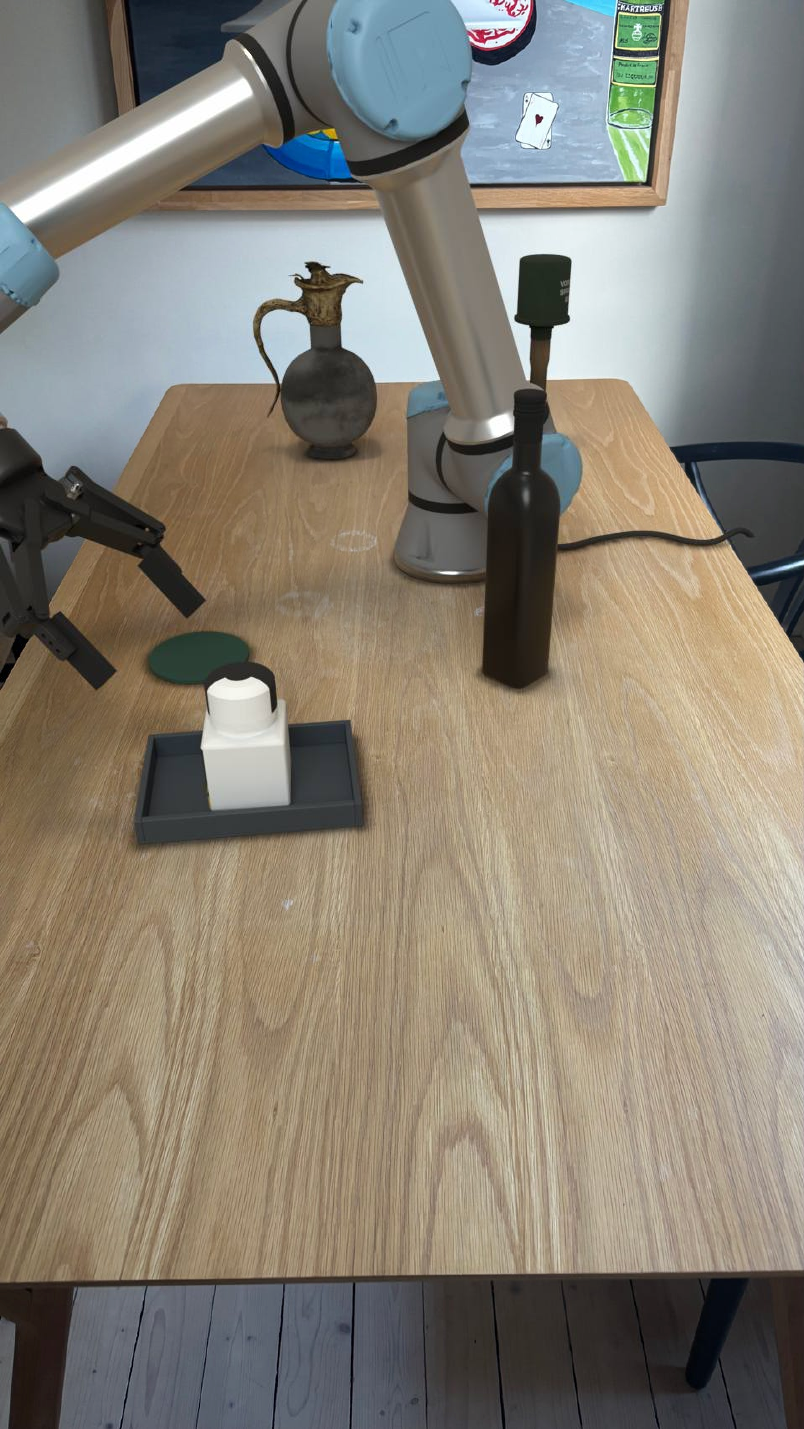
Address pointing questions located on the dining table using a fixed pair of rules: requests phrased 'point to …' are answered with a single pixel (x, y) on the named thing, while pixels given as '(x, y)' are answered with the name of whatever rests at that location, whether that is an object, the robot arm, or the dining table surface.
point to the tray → (183, 813)
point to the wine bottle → (521, 555)
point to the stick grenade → (542, 305)
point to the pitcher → (322, 370)
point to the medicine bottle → (245, 739)
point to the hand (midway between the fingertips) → (154, 643)
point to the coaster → (195, 656)
